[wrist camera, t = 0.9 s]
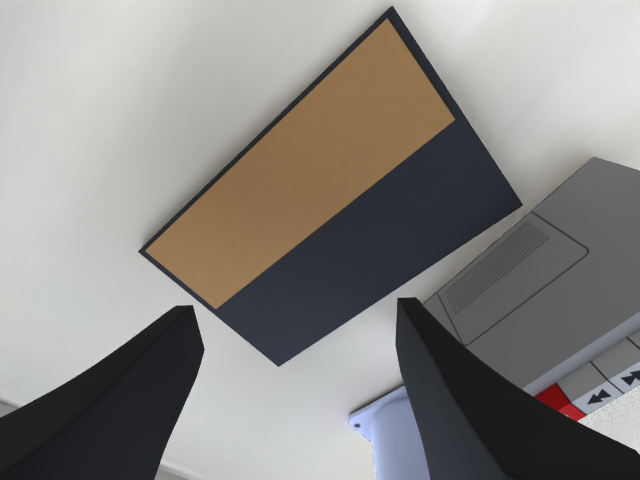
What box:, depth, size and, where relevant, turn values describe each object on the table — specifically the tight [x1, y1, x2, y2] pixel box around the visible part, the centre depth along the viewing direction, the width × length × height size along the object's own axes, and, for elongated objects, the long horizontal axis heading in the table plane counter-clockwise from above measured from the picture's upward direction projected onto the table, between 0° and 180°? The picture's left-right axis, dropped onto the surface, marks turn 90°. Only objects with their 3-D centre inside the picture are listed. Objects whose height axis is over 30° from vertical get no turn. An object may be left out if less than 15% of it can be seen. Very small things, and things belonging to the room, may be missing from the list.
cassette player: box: [423, 157, 640, 421], centre depth 18 cm, size 16×3×10 cm, turn 141°
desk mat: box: [139, 6, 523, 367], centre depth 21 cm, size 13×20×1 cm, turn 131°
